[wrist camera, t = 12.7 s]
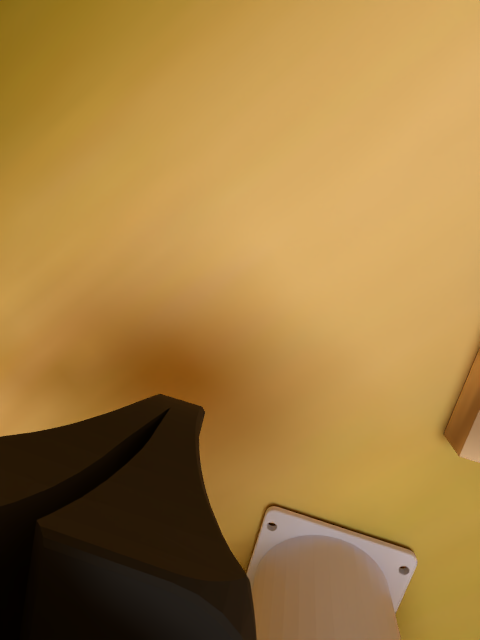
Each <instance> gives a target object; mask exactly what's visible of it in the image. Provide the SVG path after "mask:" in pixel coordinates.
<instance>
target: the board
mask: <svg viewBox="0 0 480 640" xmlns="http://www.w3.org/2000/svg"><path fill="white" fill-rule="evenodd" d="M444 435H445V437H446V438H447V440H448V441H449V443H450V444H451V445H452V447H453V448H454V450H455V451H456V453H457V454H458V456H459V457H462V458H466V459H469V460H472V461H476V462H479V463H480V349H479V351H478V353H477V356H476V358H475V361H474V363H473V365H472V368H471V370H470V373H469V375H468V377H467V380H466V382H465V385H464V387H463V389H462V392H461V394H460V396H459V399H458V401H457V404H456V406H455V408H454V411H453V413H452V416H451V418H450V420H449V423H448V425H447V428H446V430H445V432H444Z"/></svg>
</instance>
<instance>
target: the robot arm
mask: <svg viewBox="0 0 480 640" xmlns="http://www.w3.org/2000/svg"><path fill="white" fill-rule="evenodd" d="M204 414H205V411H204V409H203V407H201V406H198V405H195V404H191V403H188V402H185V401H182V400H178V399H175V398H172V397H169V396H165V395H162V394H159V395H155V396H152V397H150V398H147V399H144V400H142V401H139V402H136V403H134V404H131V405H129V406H126V407H123V408H120V409H118V410H115V411H112V412H109V413H106V414H103V415H100V416H97V417H93V418H90V419H87V420H84V421H81V422H77V423H73V424H70V425H66V426H61V427H57V428H52V429H47V430H42V431H37V432H32V433H24V434H17V435H9V436H2V437H0V640H401V637H400V632H399V628H398V624H397V620H396V616H395V614H396V612H397V609H398V607H399V605H400V602H401V600H402V598H403V596H404V593H405V591H406V589H407V587H408V584H409V582H410V580H411V577H412V575H413V573H414V571H415V568H416V566H417V559H416V556H415V554H414V553H413V552H412V551H411V550H409V549H405V548H402V547H399V546H396V545H393V544H390V543H387V542H384V541H381V540H378V539H375V538H372V537H369V536H366V535H362V534H359V533H356V532H353V531H350V530H347V529H344V528H341V527H338V526H335V525H332V524H329V523H326V522H323V521H320V520H316V519H313V518H310V517H307V516H304V515H301V514H298V513H295V512H292V511H289V510H286V509H283V508H280V507H276V506H272V507H269V508H268V509H267V510H266V512H265V516H264V519H263V522H262V525H261V528H260V532H259V535H258V538H257V541H256V544H255V548H254V551H253V554H252V557H251V560H250V564H249V567H248V570H247V573H245V572H244V570H243V569H242V567H241V566H240V564H239V563H238V561H237V560H236V558H235V557H234V555H233V554H232V552H231V550H230V549H229V547H228V545H227V543H226V541H225V539H224V537H223V535H222V533H221V531H220V528H219V526H218V523H217V521H216V518H215V516H214V513H213V511H212V508H211V506H210V503H209V499H208V496H207V493H206V489H205V485H204V481H203V476H202V470H201V463H200V455H199V434H200V430H201V426H202V422H203V418H204ZM270 522H272V523H275V524H276V525H275V526H271V525H269V524H268V523H270ZM402 566H406V568H404V569H401V568H400V567H402Z"/></svg>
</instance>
